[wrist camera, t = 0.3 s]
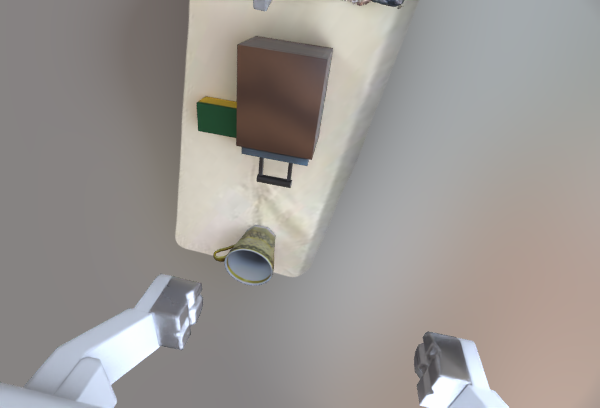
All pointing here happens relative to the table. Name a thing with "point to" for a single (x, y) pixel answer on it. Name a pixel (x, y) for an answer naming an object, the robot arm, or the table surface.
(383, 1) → the plant with pod
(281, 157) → the drawer
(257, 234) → the ceramic cup
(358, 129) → the table surface
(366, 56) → the table surface
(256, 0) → the lighter
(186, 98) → the table surface
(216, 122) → the sponge
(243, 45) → the cabinet
